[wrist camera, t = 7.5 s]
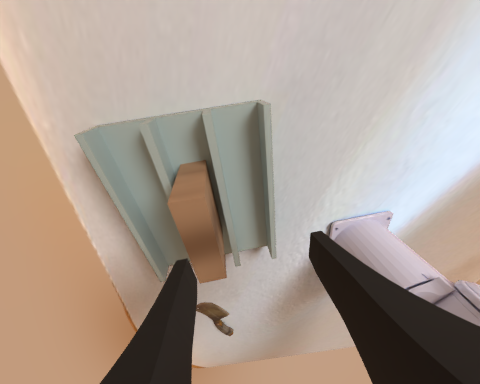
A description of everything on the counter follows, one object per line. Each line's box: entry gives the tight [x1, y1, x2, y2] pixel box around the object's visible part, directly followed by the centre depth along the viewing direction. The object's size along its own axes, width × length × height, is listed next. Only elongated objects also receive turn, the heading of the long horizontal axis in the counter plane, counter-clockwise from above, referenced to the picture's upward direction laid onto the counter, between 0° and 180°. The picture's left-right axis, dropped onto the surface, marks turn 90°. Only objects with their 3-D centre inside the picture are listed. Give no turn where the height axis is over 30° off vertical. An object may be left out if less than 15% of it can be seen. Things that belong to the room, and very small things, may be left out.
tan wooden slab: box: [167, 160, 227, 283], centre depth 16 cm, size 8×2×6 cm, turn 7°
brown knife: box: [196, 303, 233, 336], centre depth 32 cm, size 12×1×5 cm
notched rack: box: [74, 100, 276, 282], centre depth 18 cm, size 16×13×3 cm
